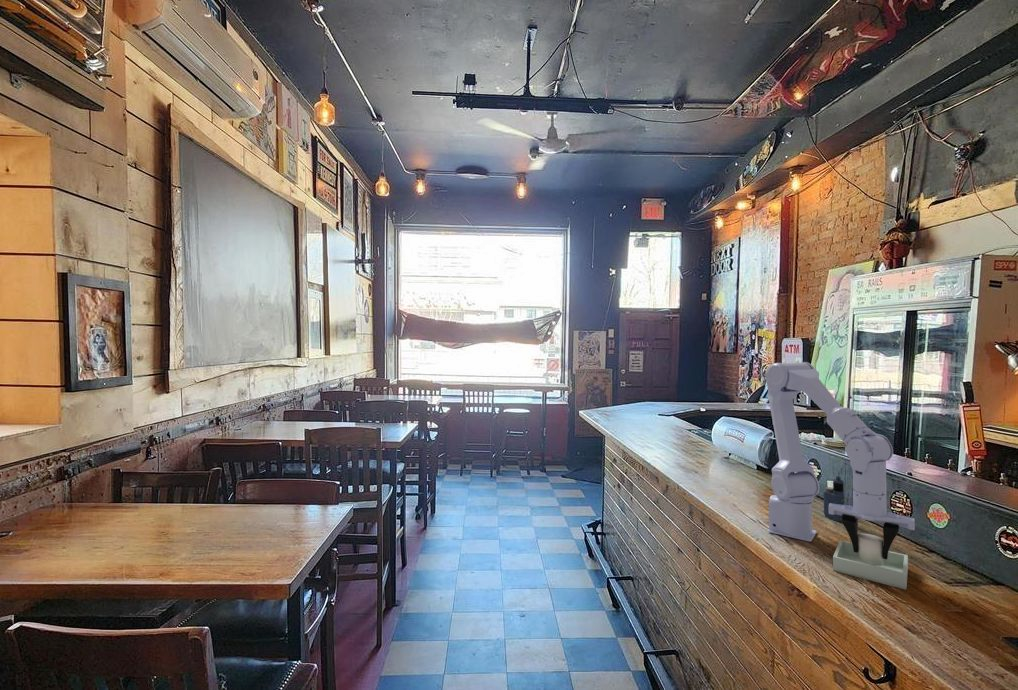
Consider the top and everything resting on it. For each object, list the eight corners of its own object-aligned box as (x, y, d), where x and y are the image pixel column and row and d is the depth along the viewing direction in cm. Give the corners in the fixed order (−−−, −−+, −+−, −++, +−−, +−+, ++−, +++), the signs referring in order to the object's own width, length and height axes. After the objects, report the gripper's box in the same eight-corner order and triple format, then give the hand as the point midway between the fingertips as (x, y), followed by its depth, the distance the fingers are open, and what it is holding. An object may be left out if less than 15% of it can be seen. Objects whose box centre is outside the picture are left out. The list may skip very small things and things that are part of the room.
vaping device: (839, 522, 125) (838, 478, 125) (821, 515, 130) (821, 473, 130) (846, 521, 126) (846, 477, 126) (828, 514, 131) (828, 472, 131)
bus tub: (833, 570, 99) (832, 556, 99) (840, 552, 107) (839, 540, 107) (906, 589, 91) (906, 574, 91) (908, 569, 99) (907, 555, 99)
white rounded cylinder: (856, 561, 99) (856, 538, 99) (859, 554, 102) (858, 531, 102) (882, 567, 96) (882, 543, 96) (884, 560, 99) (884, 537, 100)
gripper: (826, 489, 101) (826, 550, 101) (913, 503, 91) (914, 571, 92) (830, 481, 106) (831, 540, 106) (914, 494, 97) (915, 559, 97)
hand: (870, 554), depth 99 cm, fingers closed on white rounded cylinder, 4 cm apart
